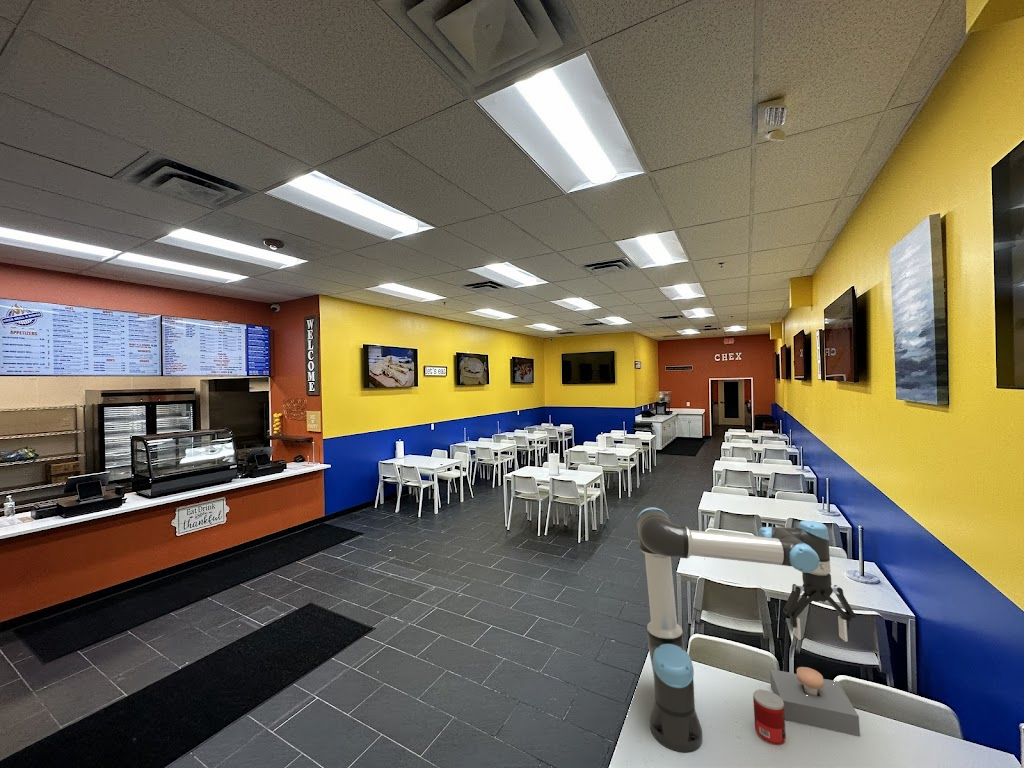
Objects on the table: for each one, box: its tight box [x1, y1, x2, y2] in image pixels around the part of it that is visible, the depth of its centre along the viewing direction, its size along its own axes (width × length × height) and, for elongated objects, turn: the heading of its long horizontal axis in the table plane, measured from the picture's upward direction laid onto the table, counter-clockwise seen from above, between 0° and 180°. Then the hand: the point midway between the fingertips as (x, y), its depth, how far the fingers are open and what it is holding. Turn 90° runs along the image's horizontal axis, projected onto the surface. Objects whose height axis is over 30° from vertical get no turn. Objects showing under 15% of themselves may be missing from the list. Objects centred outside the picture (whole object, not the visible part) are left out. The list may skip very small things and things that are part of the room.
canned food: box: [752, 689, 787, 746], centre depth 124 cm, size 8×8×11 cm
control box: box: [769, 668, 861, 737], centre depth 133 cm, size 20×16×6 cm
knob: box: [796, 666, 824, 696], centre depth 134 cm, size 7×7×8 cm
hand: (820, 638), depth 130 cm, fingers open, 13 cm apart
